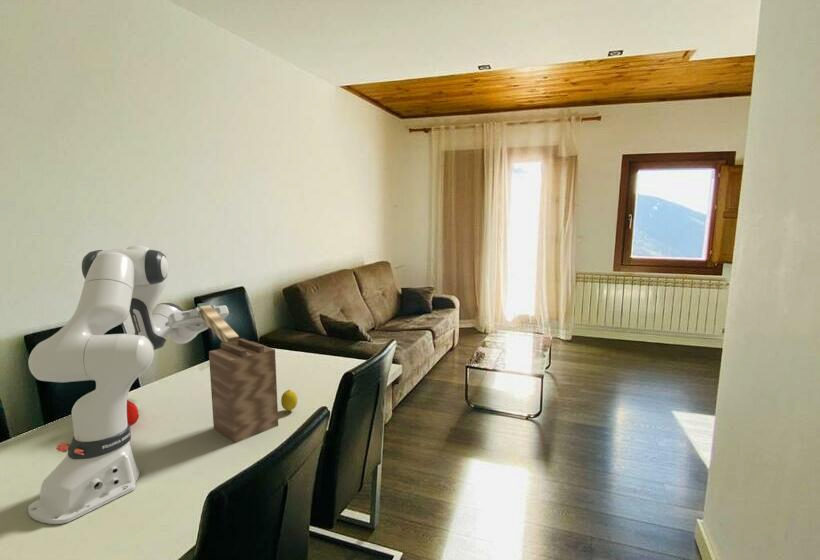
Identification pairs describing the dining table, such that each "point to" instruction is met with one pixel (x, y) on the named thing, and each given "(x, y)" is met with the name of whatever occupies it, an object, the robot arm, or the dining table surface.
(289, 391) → the lemon
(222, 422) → the walnut mount
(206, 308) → the oak bar
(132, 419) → the tomato
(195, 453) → the dining table surface
